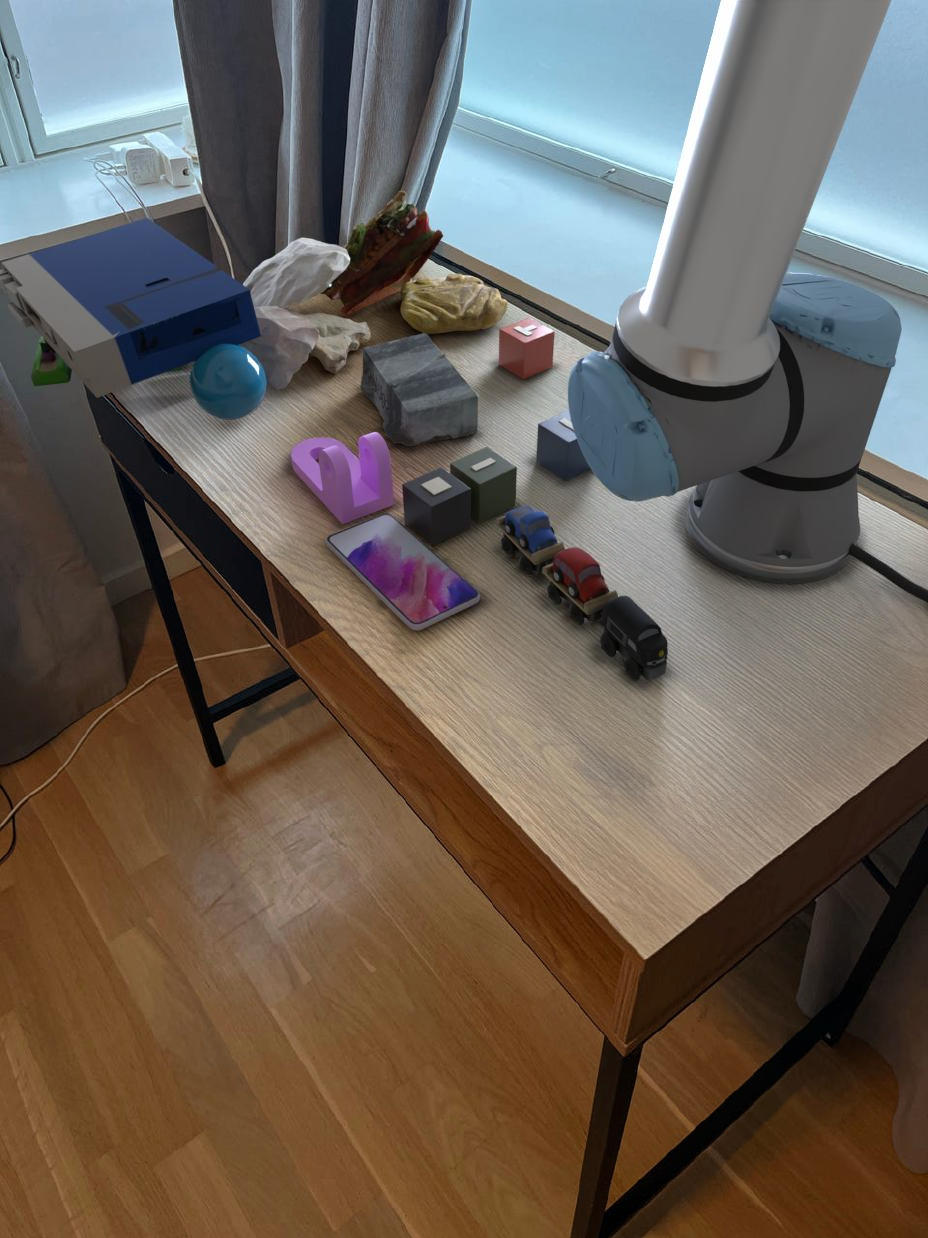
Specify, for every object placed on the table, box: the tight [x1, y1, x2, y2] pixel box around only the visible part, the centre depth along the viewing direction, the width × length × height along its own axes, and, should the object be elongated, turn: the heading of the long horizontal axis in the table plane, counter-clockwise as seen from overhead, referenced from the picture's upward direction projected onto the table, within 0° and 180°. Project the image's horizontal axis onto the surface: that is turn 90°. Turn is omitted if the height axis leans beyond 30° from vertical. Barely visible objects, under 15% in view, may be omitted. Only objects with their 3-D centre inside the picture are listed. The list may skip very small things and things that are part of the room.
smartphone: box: [325, 512, 481, 632], centre depth 85 cm, size 7×1×15 cm
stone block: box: [360, 332, 479, 447], centre depth 104 cm, size 9×14×5 cm, turn 24°
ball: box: [189, 344, 268, 421], centre depth 103 cm, size 8×8×8 cm
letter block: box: [498, 317, 556, 380], centre depth 111 cm, size 4×4×5 cm
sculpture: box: [400, 272, 509, 335], centre depth 122 cm, size 13×4×15 cm
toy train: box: [495, 504, 669, 682], centre depth 81 cm, size 4×22×5 cm, turn 31°
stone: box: [286, 308, 371, 375], centre depth 115 cm, size 13×4×10 cm
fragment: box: [242, 237, 350, 309], centre depth 119 cm, size 15×20×5 cm
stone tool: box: [239, 306, 319, 390], centre depth 111 cm, size 9×5×15 cm
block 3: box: [535, 409, 592, 482], centre depth 97 cm, size 4×4×5 cm
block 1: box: [401, 466, 472, 547], centre depth 89 cm, size 4×4×5 cm
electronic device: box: [0, 217, 261, 399], centre depth 108 cm, size 20×5×30 cm
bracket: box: [290, 431, 395, 525], centre depth 94 cm, size 13×6×7 cm, turn 33°
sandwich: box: [319, 190, 444, 317], centre depth 122 cm, size 16×12×8 cm
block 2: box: [449, 446, 518, 524], centre depth 92 cm, size 4×4×5 cm
